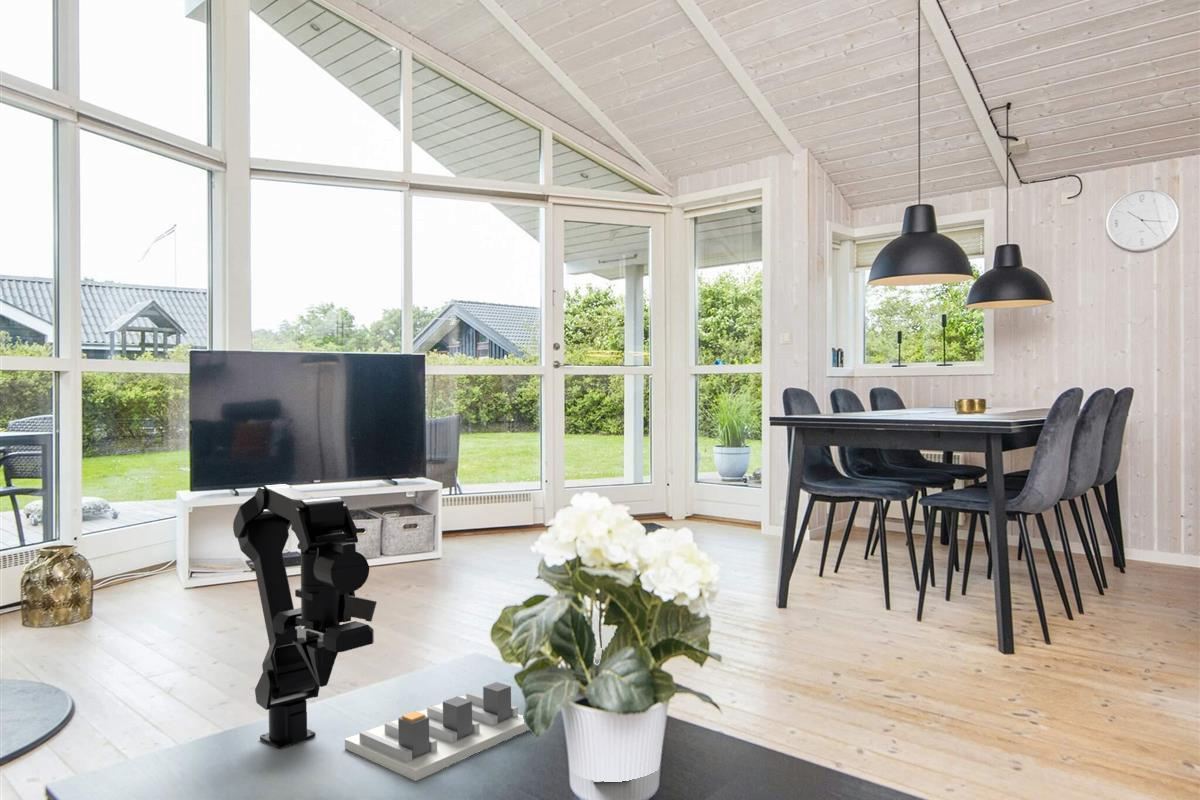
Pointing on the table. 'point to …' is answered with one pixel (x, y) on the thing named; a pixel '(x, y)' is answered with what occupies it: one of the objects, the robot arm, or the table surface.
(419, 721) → the block
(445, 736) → the breaker board
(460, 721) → the block
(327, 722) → the table surface
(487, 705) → the block
